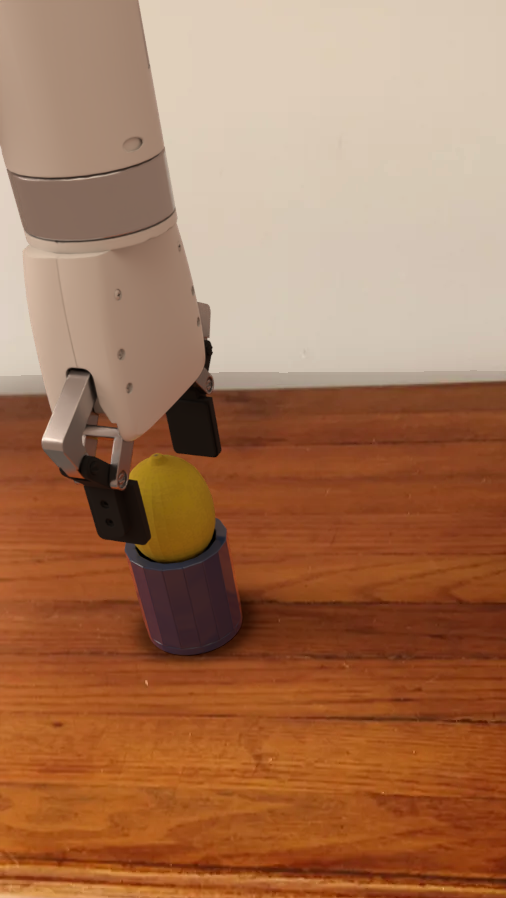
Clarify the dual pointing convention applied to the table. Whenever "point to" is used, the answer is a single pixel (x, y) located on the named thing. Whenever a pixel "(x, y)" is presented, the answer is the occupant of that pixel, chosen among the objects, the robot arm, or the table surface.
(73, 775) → the table surface
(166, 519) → the lemon
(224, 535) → the cup
